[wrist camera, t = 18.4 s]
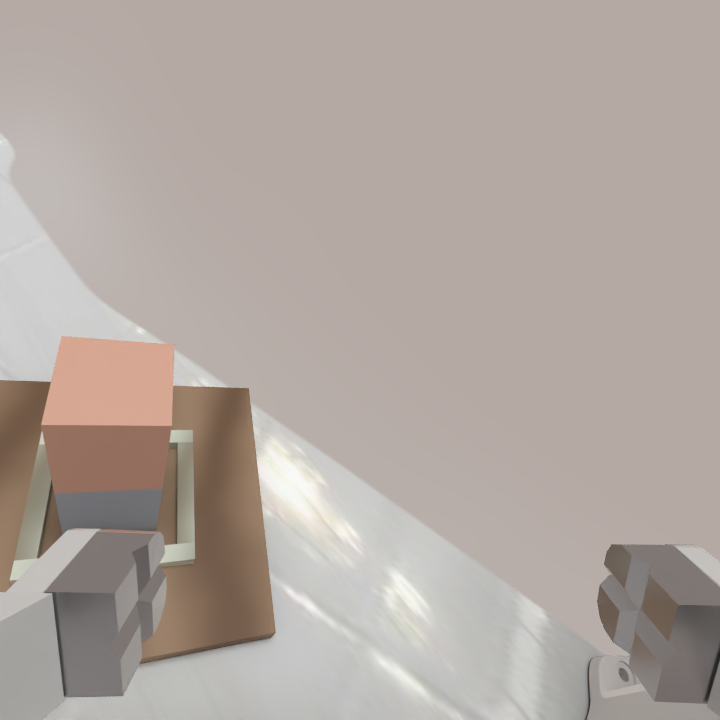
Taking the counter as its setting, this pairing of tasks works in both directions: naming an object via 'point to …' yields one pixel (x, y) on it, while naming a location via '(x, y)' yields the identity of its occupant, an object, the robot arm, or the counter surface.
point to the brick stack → (109, 432)
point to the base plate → (161, 515)
